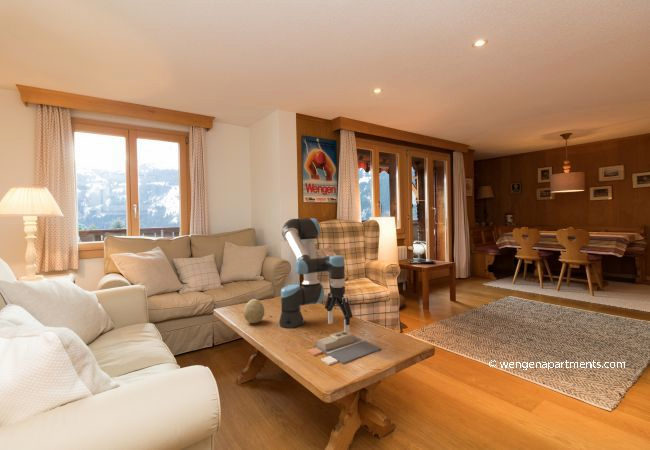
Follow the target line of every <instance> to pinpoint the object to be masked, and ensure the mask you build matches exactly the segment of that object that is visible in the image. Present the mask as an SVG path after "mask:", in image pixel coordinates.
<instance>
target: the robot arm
mask: <svg viewBox="0 0 650 450" xmlns="http://www.w3.org/2000/svg"><path fill="white" fill-rule="evenodd" d="M320 234H321V225H320V223H319V221H318V220H317V219H316V218H313V217H307V218H306V217H304V218H291V219H289V220H287V221H286V222H285V223H284V224H283V226H282V229H281V235H282V238H283V240H284V241H286V242H287V244H288V246H289V248H290V251H291V253H292V255H293V257H294V259H295V263H294V268H295V273H297V274H298V275H303V281H302V282H301V286H300V285H299V284H294V283H293V284H288V285H286V286H284V287H282V288H281V289H280V307H281V313H280V317H279V321H278V326H279V325H280V327H281V328H285V329H293V328H298V327H301V326H302V325H304V324H305V322H304V321H305V319H304V317H303V316H304V315H303V314H302V312H301V311H302V310H301V307H302V306H308V305H315V304H320V303H321V302H322V301H323V300H324V296H325V289H324V285H323V284H321V281H320V280H319V279H318V273H325V272H329V283H330V284H329V286H330V287H329V290H330V291H329V292H328V294H327V298H326V302H325V305H324V309H325V310H326V311H327V324H328V325H330V324H333V323H334V311H333V308H334V307H335V305H337V306H338V307H339V308H340V310H341V312H342V314H343V316H344V318H343V327H344V328H343V331H345V332H346V331H349V332H350V325H351V321H350V320H351V319H352V318H353V313H352V310H351V307H350V303H349V298H348V297H344V295H345V293H346V287H345V285H346V278H345V275H346V274H345V271H346V270H345V269H346V268H345V263H346V262H345V257H344V256H343V255H339V254H336V255H335V254H334V255H330V256H328V255H327V256H326V255H324V256H322V257H317V250H316V248H317V247H316V241H317V240H318V237H319V236H320Z"/></svg>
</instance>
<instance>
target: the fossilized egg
mask: <svg viewBox="0 0 650 450" xmlns="http://www.w3.org/2000/svg"><path fill="white" fill-rule="evenodd" d="M264 316H265V307H264V305H263V303H262V302H261V301H259V300H258V299H256V298H253V299H250V300H249V301H248V302H247V303H246V304H245V306H244V307H243V317H244V320H246V321H247V322H248V323H250V324H257V323H260V322H261V321H262V320H263V318H264Z"/></svg>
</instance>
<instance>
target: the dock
mask: <svg viewBox="0 0 650 450" xmlns="http://www.w3.org/2000/svg"><path fill="white" fill-rule="evenodd" d="M381 350H382V347H379V346H378V345H375V344H373V343H372V342H368V341H366V339H361V338H360V337H357V336H356V335H354V342H352V343H349V344H346V345H342V346H339V347H336V348H333V349H329V350H326V351H325V350H323V349H322V348H320V347H319V346H318V343H317V344H314V345H313V348H309V349H307V353H308V354H310V355H312V356H313V357H315V356H319V355H321V354H325V355H327V356H325V357H322V358H320V359H321V361H322V362H323V363H325V365H328V366H331V365H334V364H336V363H340V364H342V365H344V364H348V363H349V362H352V361H355V360H357V359H360V358H362V357H365V356H369V355H371V354H373V353H376V352H378V351H381Z"/></svg>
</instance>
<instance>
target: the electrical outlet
mask: <svg viewBox="0 0 650 450" xmlns="http://www.w3.org/2000/svg"><path fill="white" fill-rule="evenodd" d="M354 336H355V334H354V333H352V332H351V331H350V330H349V331H346V332H345V331H344V330H343V331H340V332H339V331H338V332H335V333H331V334H329V336H326V337H322V338H319V339H317V342H316V343H317V344H318V346H319V347H320V348H322V349H323V350H325V351H326V350H329V349H333V348H336V347H339V346H342V345H346V344H349V343H352V342H354Z"/></svg>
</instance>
